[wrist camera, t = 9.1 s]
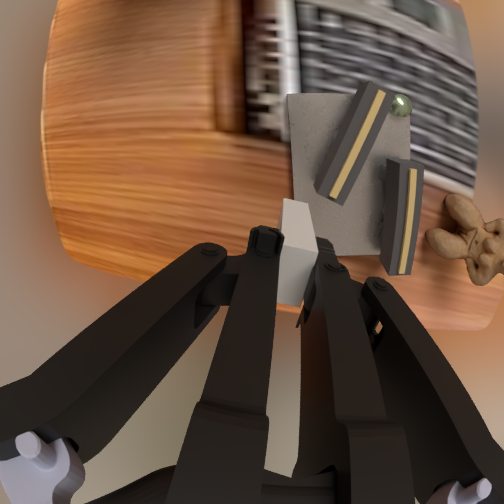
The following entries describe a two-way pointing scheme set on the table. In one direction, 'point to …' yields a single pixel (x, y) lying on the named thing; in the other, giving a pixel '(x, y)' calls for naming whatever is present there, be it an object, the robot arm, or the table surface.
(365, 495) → the robot arm
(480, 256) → the figurine
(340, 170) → the striped dark bar
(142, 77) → the table surface
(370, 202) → the level plate
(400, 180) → the curved tan-striped slab
